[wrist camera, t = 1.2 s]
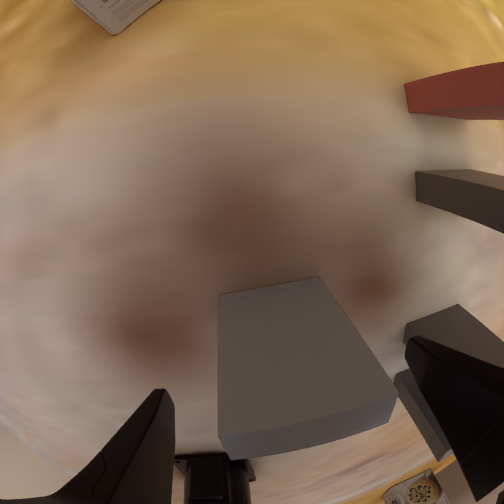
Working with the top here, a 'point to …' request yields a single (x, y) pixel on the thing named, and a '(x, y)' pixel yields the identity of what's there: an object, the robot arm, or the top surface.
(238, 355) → the domino
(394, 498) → the coffee box
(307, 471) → the top surface
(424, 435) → the domino
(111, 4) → the ink box
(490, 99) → the end domino
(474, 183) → the domino
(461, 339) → the domino
